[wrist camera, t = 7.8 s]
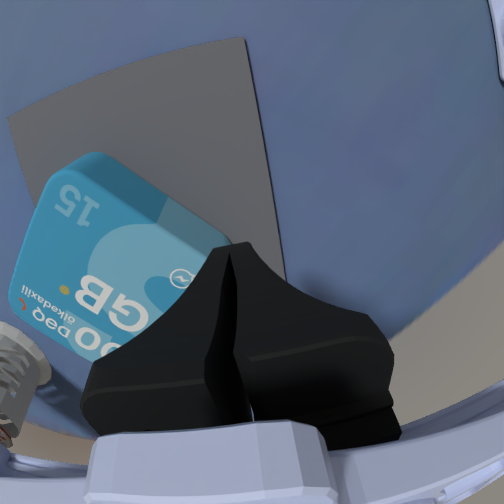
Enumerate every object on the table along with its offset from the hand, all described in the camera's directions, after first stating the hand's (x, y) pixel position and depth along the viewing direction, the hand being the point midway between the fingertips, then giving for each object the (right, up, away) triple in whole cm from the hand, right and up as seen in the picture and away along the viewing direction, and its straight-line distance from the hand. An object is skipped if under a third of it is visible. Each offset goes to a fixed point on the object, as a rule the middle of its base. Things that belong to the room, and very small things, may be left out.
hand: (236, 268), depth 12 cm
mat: (-6, +3, +8) cm, 11 cm away
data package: (-4, +3, +6) cm, 8 cm away
